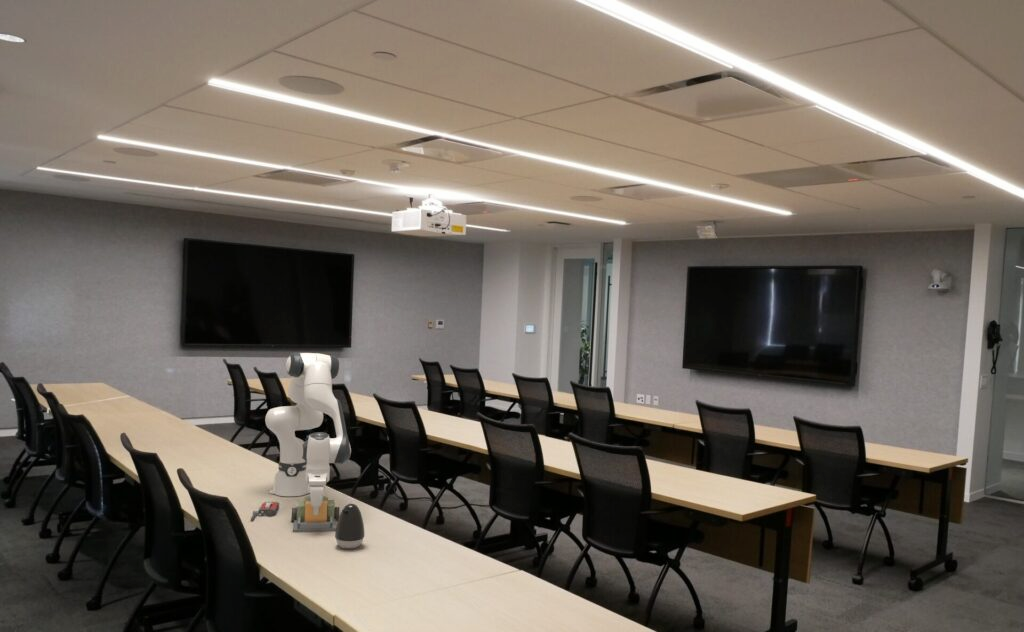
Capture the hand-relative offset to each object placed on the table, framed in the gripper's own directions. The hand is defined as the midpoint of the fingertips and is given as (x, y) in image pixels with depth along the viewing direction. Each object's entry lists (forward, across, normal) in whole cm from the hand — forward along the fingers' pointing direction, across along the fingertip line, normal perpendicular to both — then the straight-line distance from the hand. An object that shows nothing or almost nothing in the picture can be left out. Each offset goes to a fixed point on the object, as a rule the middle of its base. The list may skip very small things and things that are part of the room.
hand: (316, 512), depth 275 cm
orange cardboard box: (+3, 0, 0) cm, 3 cm away
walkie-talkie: (+6, -20, -20) cm, 29 cm away
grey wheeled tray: (+6, -4, 0) cm, 7 cm away
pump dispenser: (+6, +24, +12) cm, 27 cm away
